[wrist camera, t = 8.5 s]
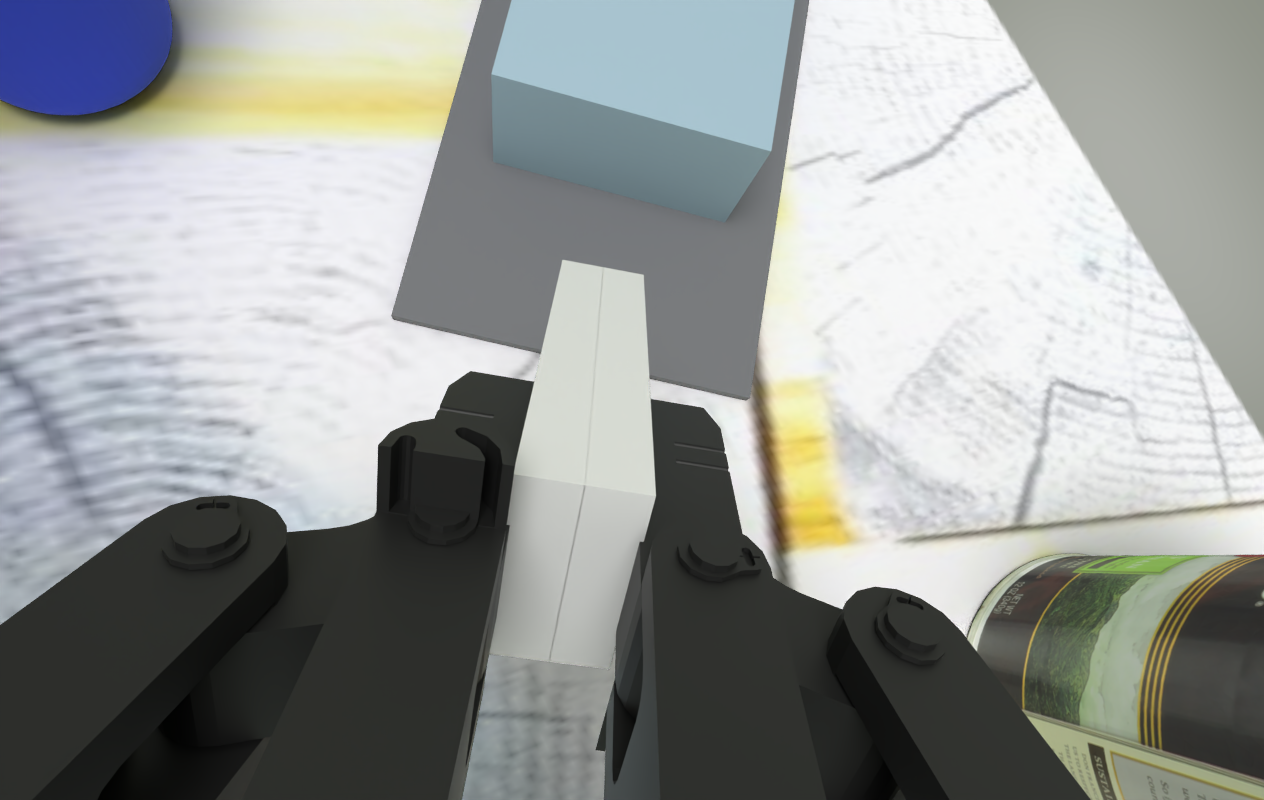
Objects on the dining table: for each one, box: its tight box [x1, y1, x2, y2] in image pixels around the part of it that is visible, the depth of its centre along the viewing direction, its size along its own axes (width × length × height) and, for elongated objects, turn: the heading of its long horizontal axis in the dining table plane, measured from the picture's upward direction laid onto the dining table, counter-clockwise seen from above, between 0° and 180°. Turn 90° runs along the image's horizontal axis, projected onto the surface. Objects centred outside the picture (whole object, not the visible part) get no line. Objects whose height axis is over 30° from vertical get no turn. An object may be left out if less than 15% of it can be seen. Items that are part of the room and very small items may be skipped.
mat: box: [391, 0, 809, 400], centre depth 29 cm, size 24×13×1 cm, turn 169°
